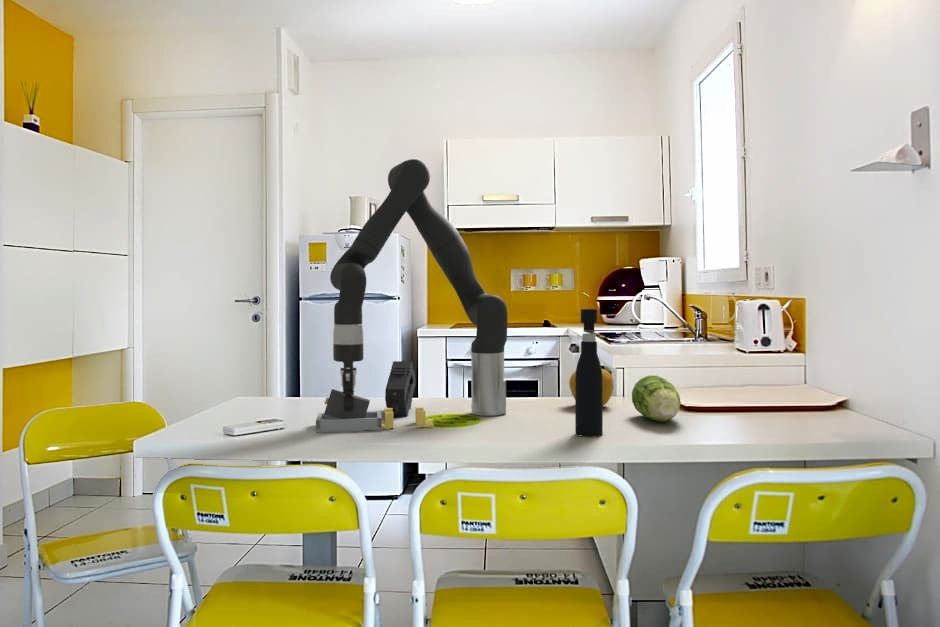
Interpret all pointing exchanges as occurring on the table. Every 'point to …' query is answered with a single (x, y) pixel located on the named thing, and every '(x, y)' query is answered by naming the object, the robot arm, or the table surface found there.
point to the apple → (606, 385)
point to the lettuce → (656, 398)
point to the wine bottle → (589, 382)
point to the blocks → (418, 413)
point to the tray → (348, 423)
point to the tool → (400, 387)
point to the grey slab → (337, 406)
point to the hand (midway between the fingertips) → (348, 409)
